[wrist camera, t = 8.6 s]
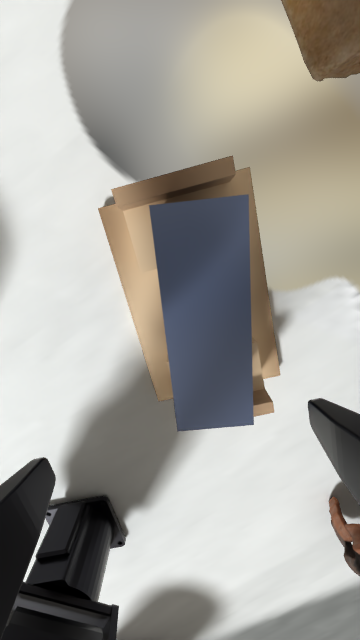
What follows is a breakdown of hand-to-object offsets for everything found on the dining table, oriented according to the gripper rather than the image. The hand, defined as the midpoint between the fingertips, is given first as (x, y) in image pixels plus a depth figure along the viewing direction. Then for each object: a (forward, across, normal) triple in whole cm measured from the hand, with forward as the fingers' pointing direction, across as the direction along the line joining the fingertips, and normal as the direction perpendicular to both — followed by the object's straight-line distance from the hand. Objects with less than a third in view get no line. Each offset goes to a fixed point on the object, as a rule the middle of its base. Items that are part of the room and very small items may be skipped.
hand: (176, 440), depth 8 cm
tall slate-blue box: (+8, -2, -2) cm, 9 cm away
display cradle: (+12, -2, -2) cm, 12 cm away
